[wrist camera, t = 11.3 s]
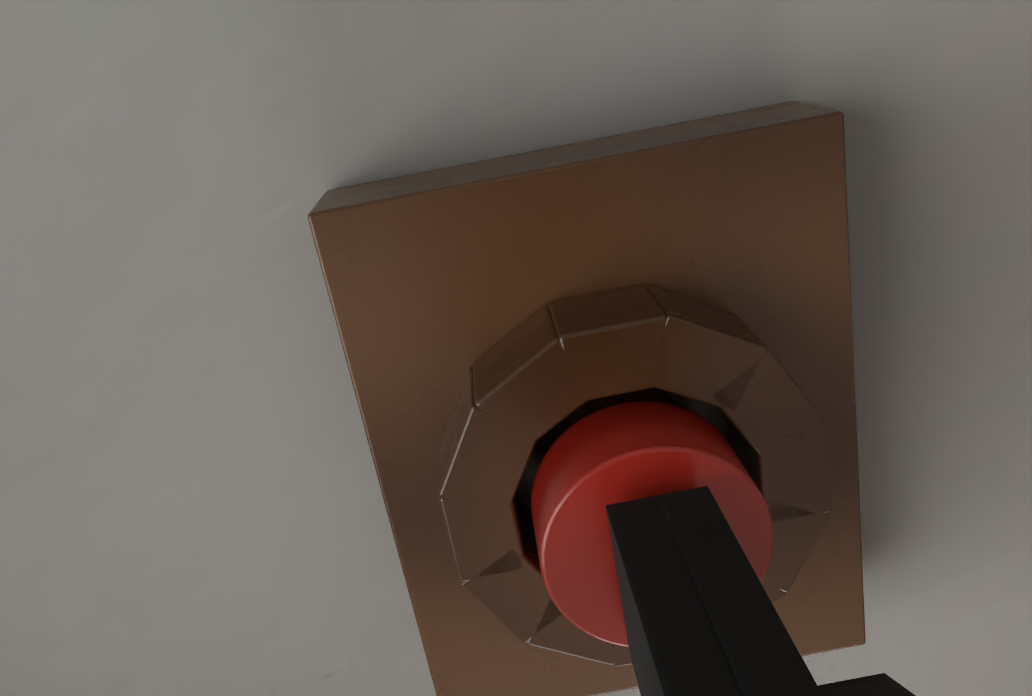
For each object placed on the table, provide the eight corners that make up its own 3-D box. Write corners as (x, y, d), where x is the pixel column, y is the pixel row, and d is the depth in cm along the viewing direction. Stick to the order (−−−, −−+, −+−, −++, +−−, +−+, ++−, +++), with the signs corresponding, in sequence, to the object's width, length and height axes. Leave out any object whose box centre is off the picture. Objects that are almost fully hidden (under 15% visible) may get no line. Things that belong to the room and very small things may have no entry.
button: (513, 422, 14) (520, 473, 12) (729, 380, 14) (765, 426, 12) (549, 601, 15) (560, 669, 14) (747, 563, 15) (782, 627, 14)
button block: (324, 191, 16) (286, 240, 12) (795, 100, 16) (897, 122, 12) (445, 654, 20) (443, 798, 16) (824, 581, 20) (909, 708, 16)
